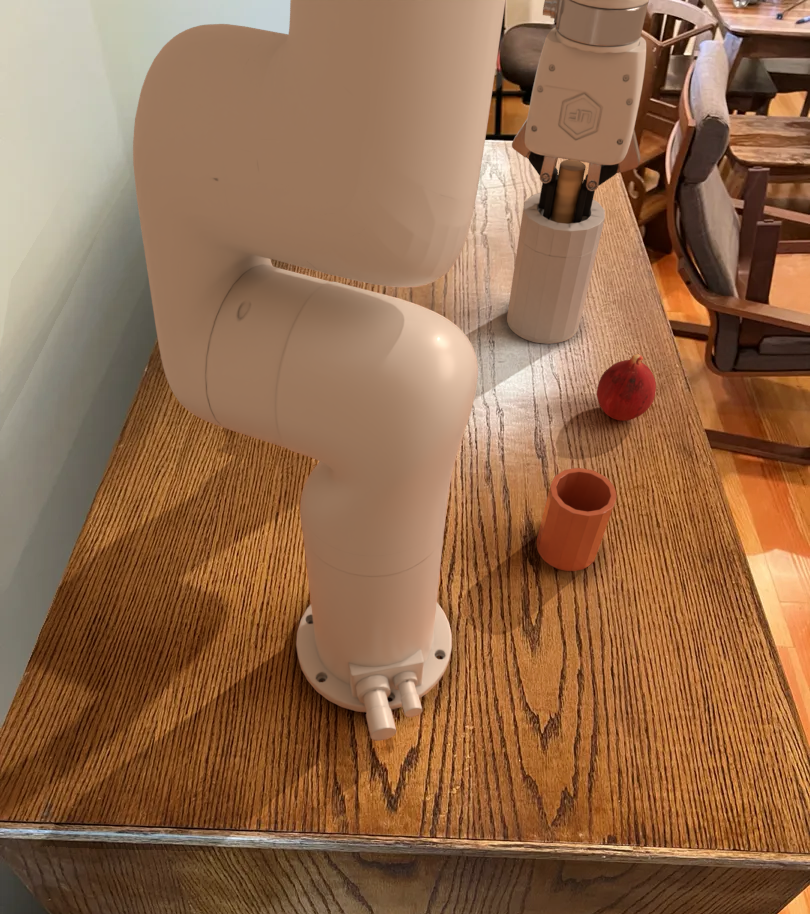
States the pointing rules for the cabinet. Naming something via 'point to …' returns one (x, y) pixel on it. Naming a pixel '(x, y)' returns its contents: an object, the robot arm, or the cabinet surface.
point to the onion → (626, 389)
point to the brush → (567, 191)
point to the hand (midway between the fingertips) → (562, 216)
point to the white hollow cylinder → (552, 273)
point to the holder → (575, 518)
